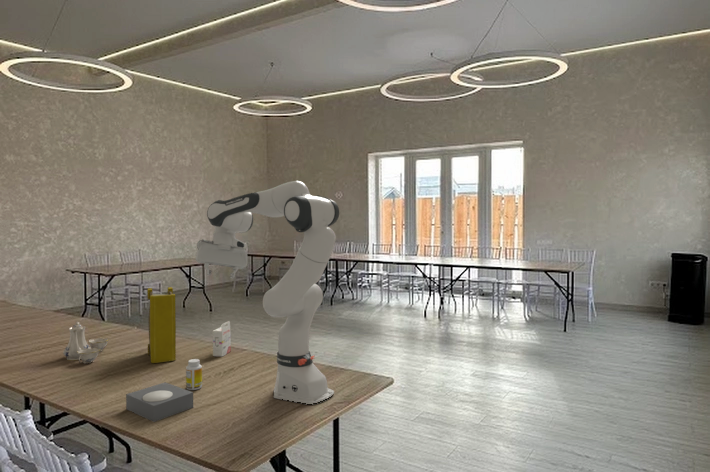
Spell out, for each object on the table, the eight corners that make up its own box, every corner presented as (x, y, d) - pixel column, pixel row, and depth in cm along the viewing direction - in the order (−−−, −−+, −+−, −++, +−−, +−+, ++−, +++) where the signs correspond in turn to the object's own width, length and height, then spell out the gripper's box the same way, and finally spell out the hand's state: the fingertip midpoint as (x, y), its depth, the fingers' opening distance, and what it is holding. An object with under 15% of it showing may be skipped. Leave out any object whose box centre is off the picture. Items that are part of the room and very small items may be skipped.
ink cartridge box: (221, 351, 222) (221, 320, 221) (231, 351, 220) (230, 320, 220) (212, 356, 213) (211, 324, 213) (222, 357, 212) (222, 324, 212)
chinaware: (100, 368, 200) (104, 329, 200) (55, 368, 194) (59, 328, 194) (108, 350, 226) (112, 316, 226) (68, 350, 220) (72, 315, 220)
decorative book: (176, 361, 205) (176, 292, 204) (149, 364, 200) (148, 294, 199) (172, 349, 223) (172, 286, 222) (147, 352, 218) (146, 287, 217)
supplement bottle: (203, 385, 177) (203, 358, 176) (200, 390, 171) (200, 362, 171) (188, 385, 176) (188, 358, 176) (184, 390, 170) (184, 363, 170)
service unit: (193, 407, 156) (193, 391, 156) (153, 422, 144) (153, 405, 144) (164, 395, 165) (164, 381, 165) (125, 408, 154) (125, 392, 154)
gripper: (200, 236, 183) (196, 271, 179) (250, 245, 193) (247, 278, 189) (195, 240, 188) (191, 274, 184) (244, 248, 198) (241, 280, 194)
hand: (220, 276), depth 187 cm, fingers open, 8 cm apart
